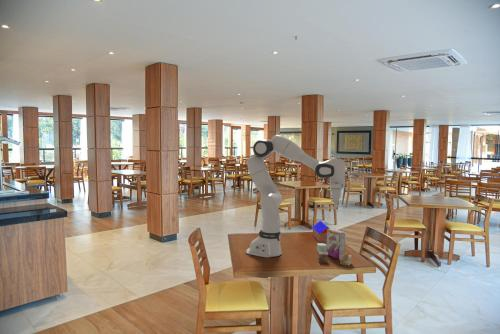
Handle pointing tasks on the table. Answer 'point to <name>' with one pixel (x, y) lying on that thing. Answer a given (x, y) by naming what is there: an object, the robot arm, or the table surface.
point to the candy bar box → (335, 243)
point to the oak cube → (345, 259)
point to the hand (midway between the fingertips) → (336, 206)
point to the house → (320, 232)
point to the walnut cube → (323, 257)
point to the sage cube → (321, 247)
